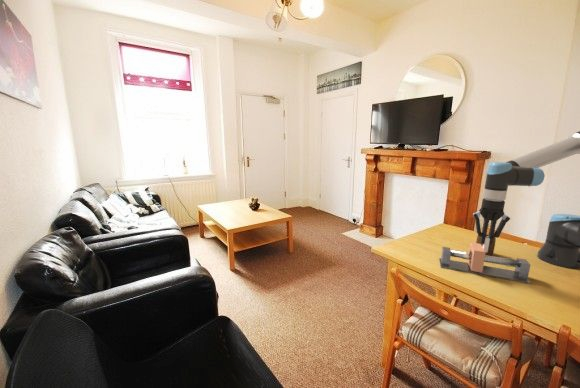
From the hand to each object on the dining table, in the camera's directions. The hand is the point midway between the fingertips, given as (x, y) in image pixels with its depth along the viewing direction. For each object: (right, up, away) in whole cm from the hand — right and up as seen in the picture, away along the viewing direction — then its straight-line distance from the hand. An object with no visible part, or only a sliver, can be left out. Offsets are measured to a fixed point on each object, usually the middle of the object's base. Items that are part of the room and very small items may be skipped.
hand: (484, 250), depth 114 cm
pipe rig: (0, -9, +2) cm, 10 cm away
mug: (+13, -6, +17) cm, 22 cm away
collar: (-2, -8, +3) cm, 9 cm away
